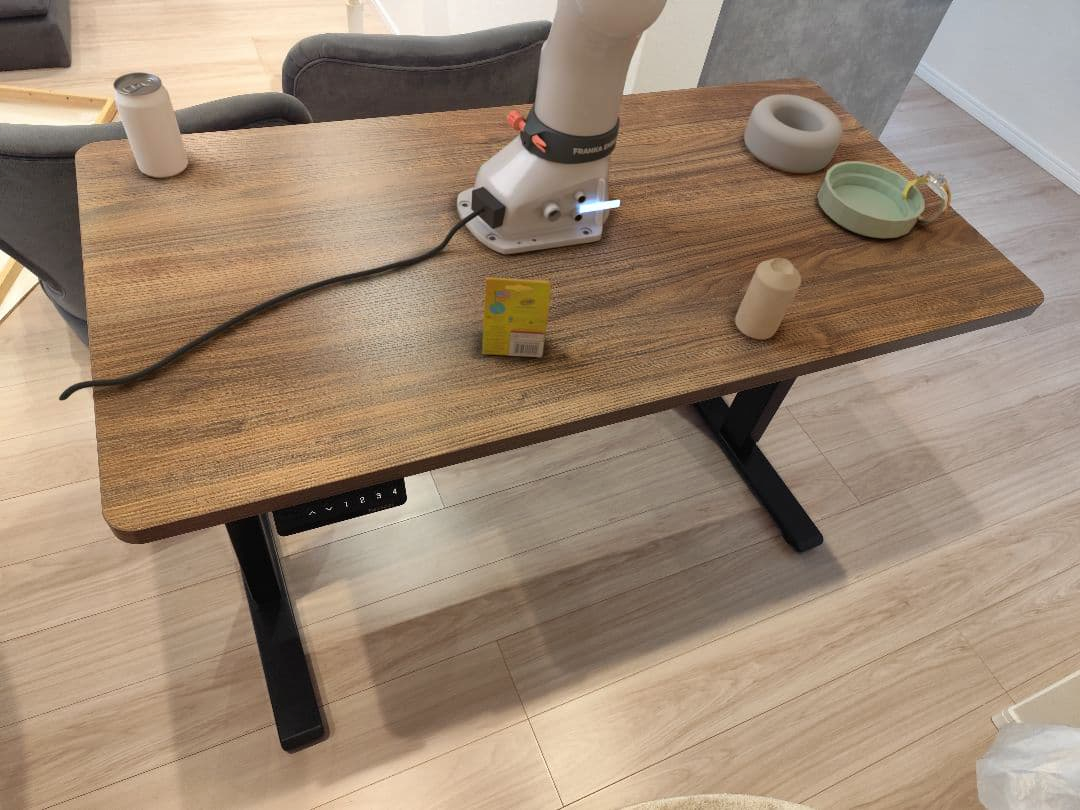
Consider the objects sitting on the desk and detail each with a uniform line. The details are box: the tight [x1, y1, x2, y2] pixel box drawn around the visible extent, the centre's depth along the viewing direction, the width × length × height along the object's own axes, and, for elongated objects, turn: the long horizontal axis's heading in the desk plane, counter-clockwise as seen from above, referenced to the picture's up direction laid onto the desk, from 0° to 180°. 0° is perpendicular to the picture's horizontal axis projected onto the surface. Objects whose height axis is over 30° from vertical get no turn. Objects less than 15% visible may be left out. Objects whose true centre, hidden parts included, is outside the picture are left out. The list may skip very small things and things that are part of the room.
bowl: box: [816, 160, 926, 239], centre depth 114 cm, size 15×15×4 cm
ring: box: [903, 170, 952, 224], centre depth 112 cm, size 7×3×8 cm, turn 29°
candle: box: [734, 257, 802, 340], centre depth 92 cm, size 6×6×10 cm
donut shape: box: [743, 93, 844, 174], centre depth 121 cm, size 15×15×7 cm
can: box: [112, 71, 189, 179], centre depth 98 cm, size 6×6×12 cm
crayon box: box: [481, 276, 553, 359], centre depth 84 cm, size 7×3×12 cm, turn 91°
